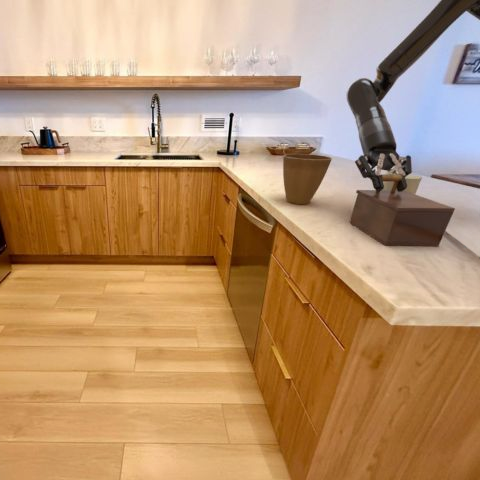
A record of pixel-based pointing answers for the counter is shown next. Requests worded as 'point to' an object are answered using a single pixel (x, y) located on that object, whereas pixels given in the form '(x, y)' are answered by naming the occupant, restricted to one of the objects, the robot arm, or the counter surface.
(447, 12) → the robot arm
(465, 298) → the counter surface
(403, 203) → the box lid
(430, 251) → the counter surface
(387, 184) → the cream yellow block
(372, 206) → the bread box
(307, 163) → the plant pot
